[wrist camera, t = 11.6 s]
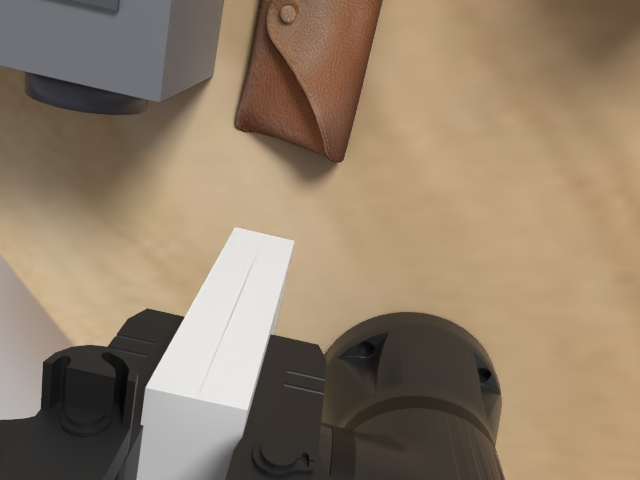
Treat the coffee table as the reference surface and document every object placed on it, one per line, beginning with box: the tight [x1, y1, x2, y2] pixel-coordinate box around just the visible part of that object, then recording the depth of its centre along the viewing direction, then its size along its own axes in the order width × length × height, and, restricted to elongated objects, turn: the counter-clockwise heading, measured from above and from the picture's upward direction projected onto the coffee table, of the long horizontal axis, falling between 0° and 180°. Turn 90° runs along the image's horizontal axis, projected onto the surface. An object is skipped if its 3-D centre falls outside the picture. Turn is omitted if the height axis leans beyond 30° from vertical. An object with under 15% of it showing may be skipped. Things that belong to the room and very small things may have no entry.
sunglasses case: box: [235, 0, 383, 162], centre depth 39 cm, size 18×7×7 cm
